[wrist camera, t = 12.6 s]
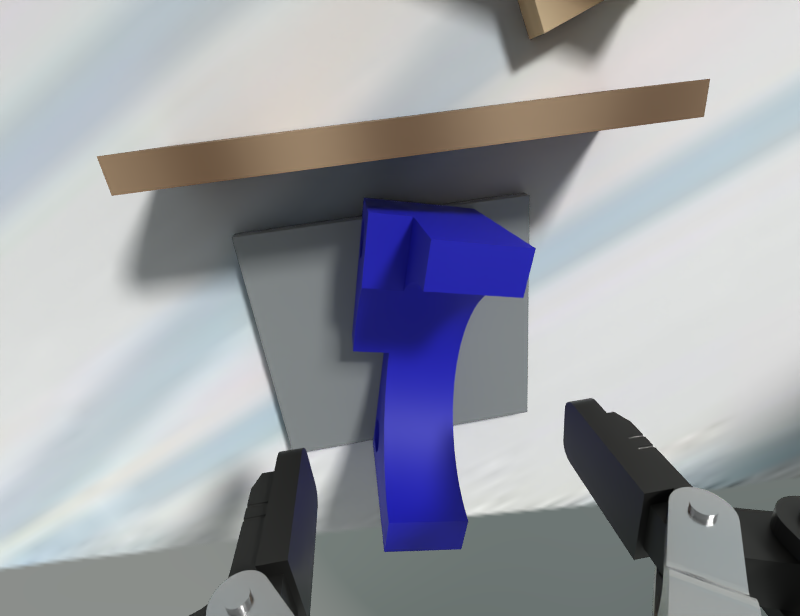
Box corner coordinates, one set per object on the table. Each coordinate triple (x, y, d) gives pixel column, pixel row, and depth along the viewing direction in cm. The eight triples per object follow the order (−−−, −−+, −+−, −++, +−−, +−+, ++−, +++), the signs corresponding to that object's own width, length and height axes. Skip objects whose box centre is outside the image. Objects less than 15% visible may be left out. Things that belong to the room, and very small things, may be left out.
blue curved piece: (363, 197, 17) (375, 234, 11) (474, 208, 17) (535, 248, 12) (342, 442, 21) (344, 553, 16) (431, 443, 22) (461, 549, 17)
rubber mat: (523, 193, 18) (529, 195, 17) (522, 404, 23) (527, 411, 22) (235, 234, 17) (231, 237, 17) (294, 445, 22) (293, 454, 21)
